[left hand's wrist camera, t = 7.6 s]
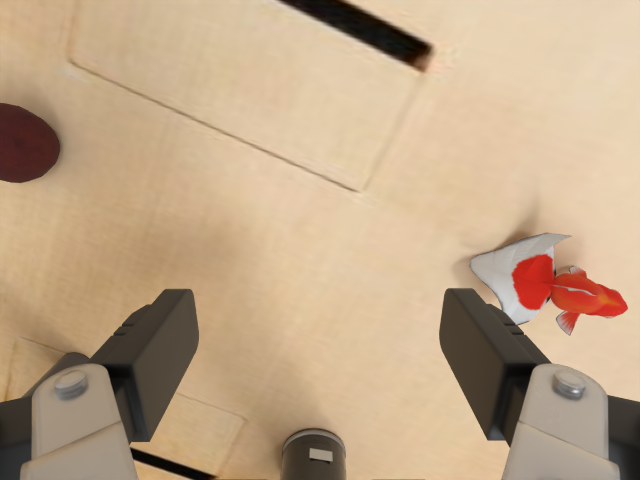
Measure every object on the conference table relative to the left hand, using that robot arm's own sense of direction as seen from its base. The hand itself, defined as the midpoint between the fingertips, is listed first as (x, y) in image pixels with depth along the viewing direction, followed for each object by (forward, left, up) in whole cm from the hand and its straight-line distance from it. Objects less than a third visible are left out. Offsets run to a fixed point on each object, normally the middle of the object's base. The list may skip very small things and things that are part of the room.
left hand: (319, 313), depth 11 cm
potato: (+1, +30, -29) cm, 41 cm away
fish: (-11, -25, -29) cm, 40 cm away
